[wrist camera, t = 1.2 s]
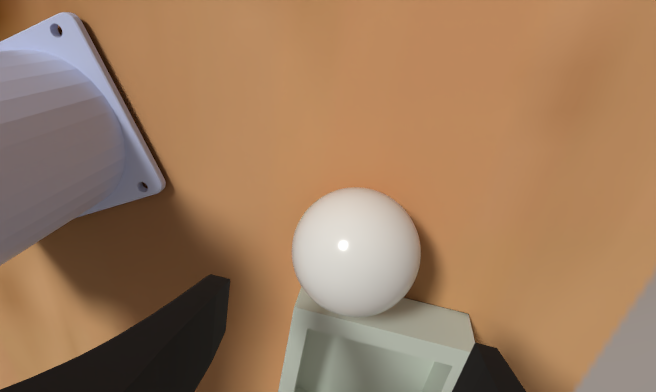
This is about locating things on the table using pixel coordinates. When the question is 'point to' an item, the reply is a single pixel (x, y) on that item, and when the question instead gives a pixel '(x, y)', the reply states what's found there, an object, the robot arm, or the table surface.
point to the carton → (375, 349)
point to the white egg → (356, 252)
